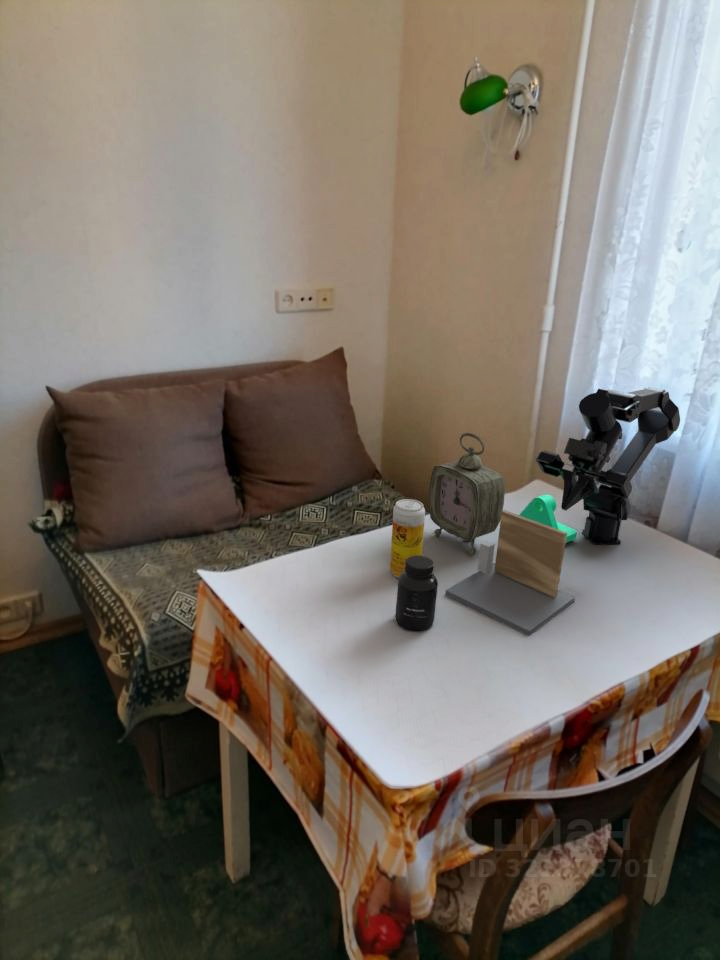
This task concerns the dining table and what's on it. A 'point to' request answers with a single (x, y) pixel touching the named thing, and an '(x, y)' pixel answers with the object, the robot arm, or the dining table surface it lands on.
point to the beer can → (406, 533)
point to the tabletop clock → (466, 496)
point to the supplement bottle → (416, 595)
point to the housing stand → (507, 596)
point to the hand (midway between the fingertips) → (563, 509)
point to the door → (530, 552)
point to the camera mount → (546, 515)
